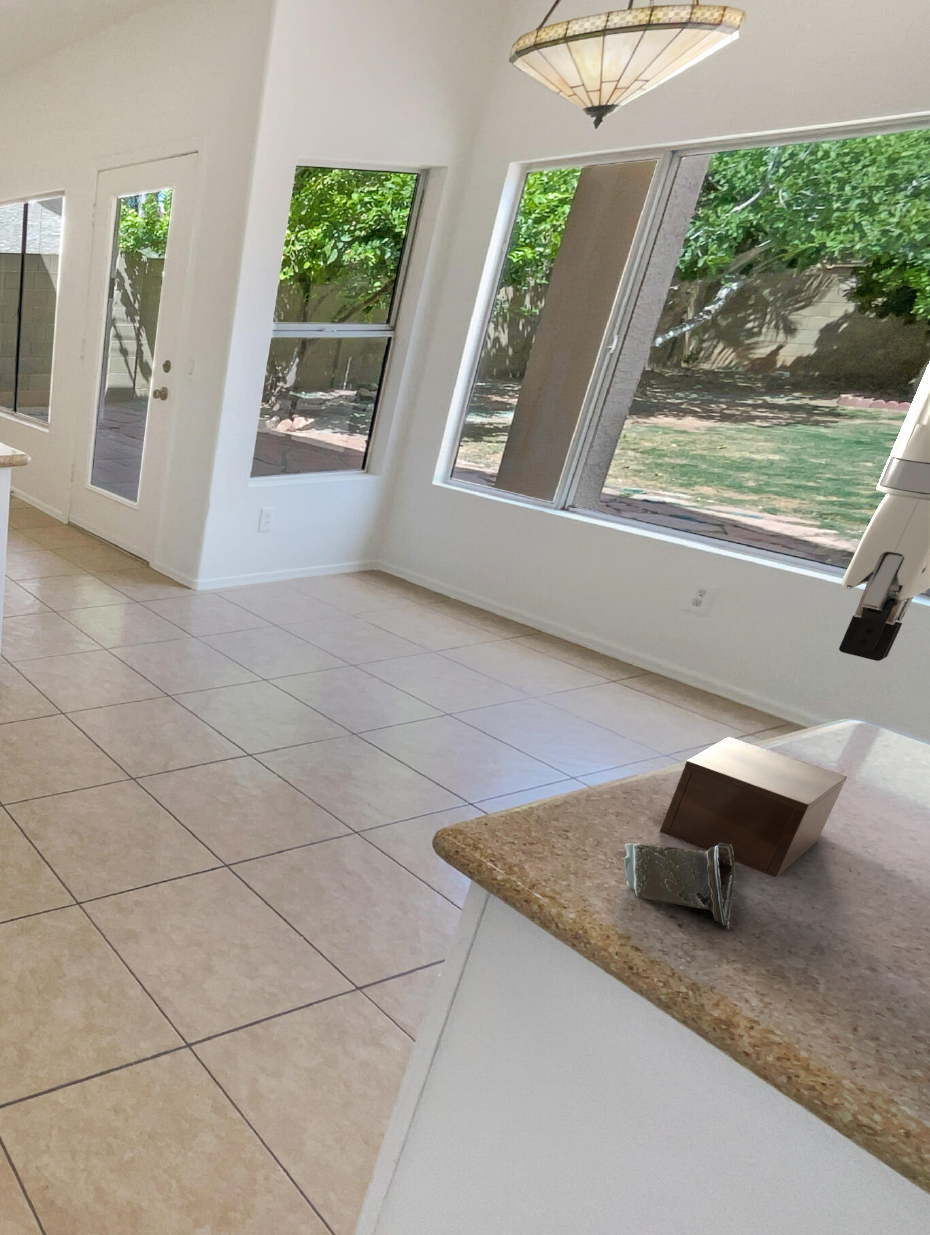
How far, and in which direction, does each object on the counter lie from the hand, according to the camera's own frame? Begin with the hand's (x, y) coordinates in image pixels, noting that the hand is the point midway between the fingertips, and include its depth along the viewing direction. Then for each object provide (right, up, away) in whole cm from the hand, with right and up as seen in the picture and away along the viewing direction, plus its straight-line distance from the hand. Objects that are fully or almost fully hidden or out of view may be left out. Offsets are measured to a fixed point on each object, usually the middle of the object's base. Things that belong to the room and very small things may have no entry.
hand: (861, 654), depth 87 cm
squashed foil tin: (-28, -21, -10) cm, 37 cm away
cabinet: (-16, -19, -2) cm, 24 cm away
